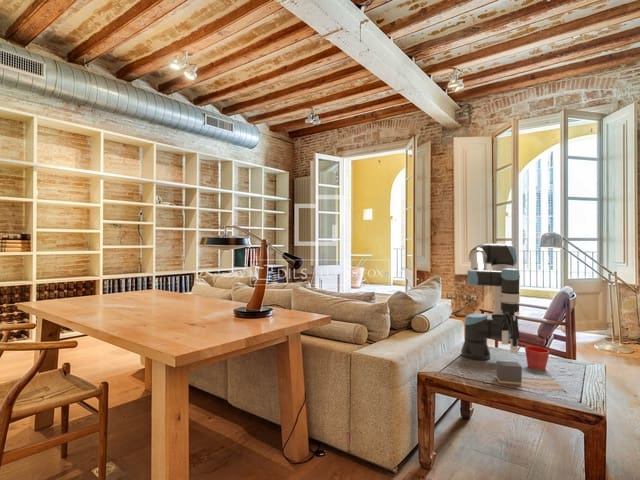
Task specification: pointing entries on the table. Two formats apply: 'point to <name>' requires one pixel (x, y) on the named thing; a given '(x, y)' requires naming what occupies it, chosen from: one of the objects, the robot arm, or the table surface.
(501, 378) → the sanding block
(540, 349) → the flower pot
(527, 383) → the plank
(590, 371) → the table surface
